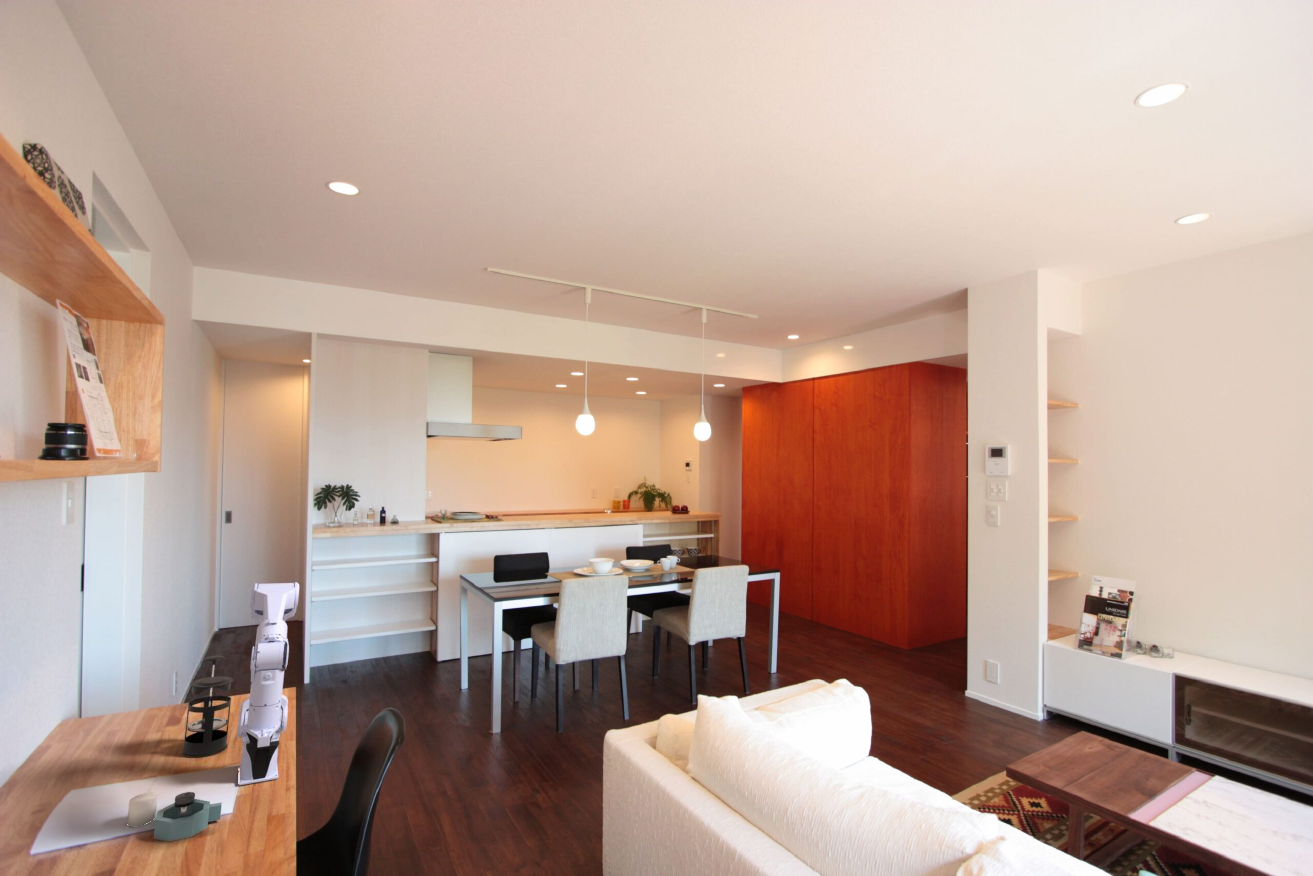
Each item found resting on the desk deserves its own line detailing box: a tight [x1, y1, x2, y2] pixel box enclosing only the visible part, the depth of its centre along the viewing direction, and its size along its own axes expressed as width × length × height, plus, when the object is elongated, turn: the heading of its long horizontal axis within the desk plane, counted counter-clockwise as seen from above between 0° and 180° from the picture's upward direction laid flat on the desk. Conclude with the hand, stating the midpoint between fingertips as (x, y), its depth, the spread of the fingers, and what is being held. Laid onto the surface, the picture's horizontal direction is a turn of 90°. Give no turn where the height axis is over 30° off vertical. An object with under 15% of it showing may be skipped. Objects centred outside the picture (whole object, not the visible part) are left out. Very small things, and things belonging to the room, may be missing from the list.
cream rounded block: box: [126, 792, 158, 827], centre depth 127 cm, size 4×4×4 cm
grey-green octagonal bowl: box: [153, 798, 223, 842], centre depth 125 cm, size 8×10×4 cm
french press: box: [181, 655, 234, 759], centre depth 161 cm, size 12×9×23 cm
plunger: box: [173, 791, 196, 818], centre depth 125 cm, size 5×5×6 cm
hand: (258, 770), depth 129 cm, fingers open, 7 cm apart
